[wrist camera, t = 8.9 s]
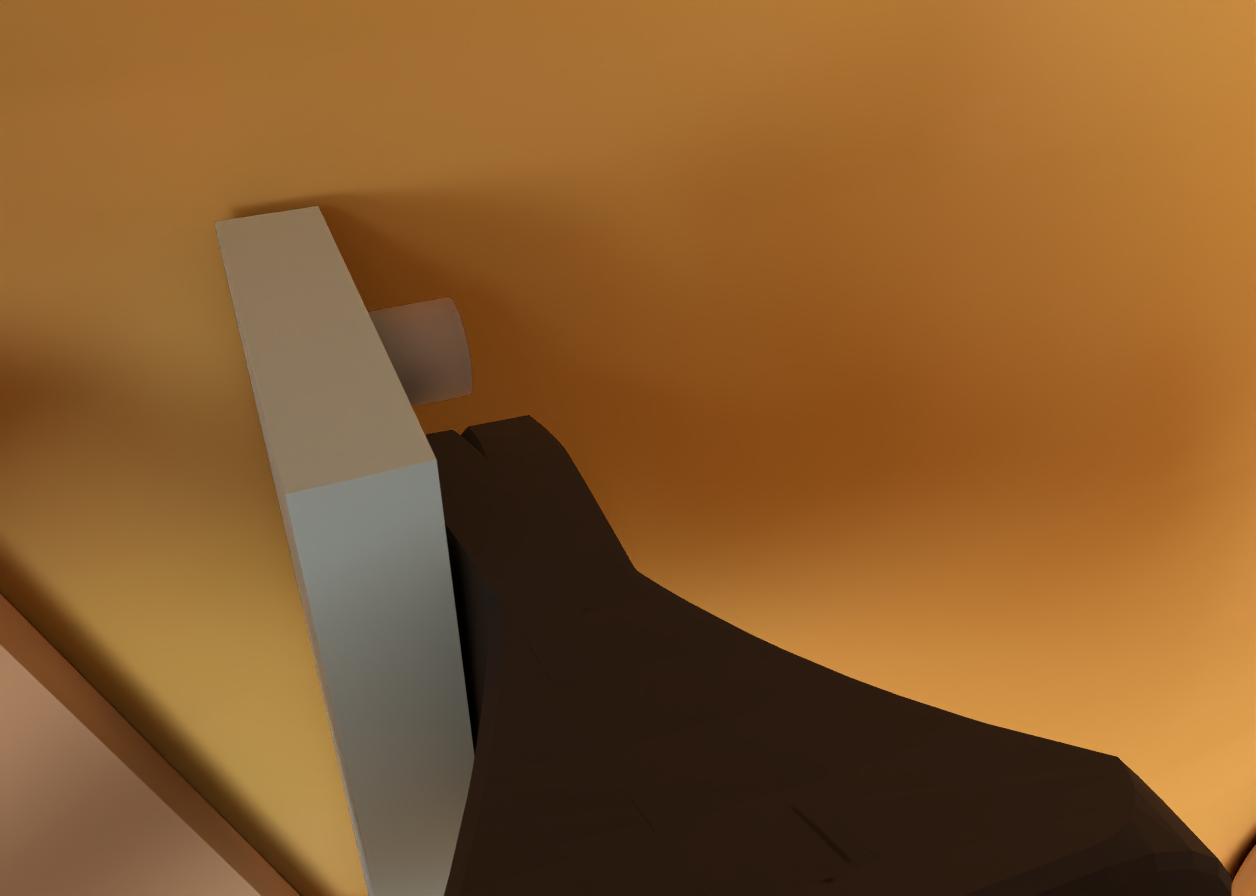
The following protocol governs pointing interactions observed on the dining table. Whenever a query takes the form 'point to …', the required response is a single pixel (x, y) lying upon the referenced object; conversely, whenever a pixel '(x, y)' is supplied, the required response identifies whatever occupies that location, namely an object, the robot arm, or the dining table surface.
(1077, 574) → the dining table surface
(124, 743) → the cabinet
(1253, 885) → the teacup
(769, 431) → the dining table surface
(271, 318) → the door
